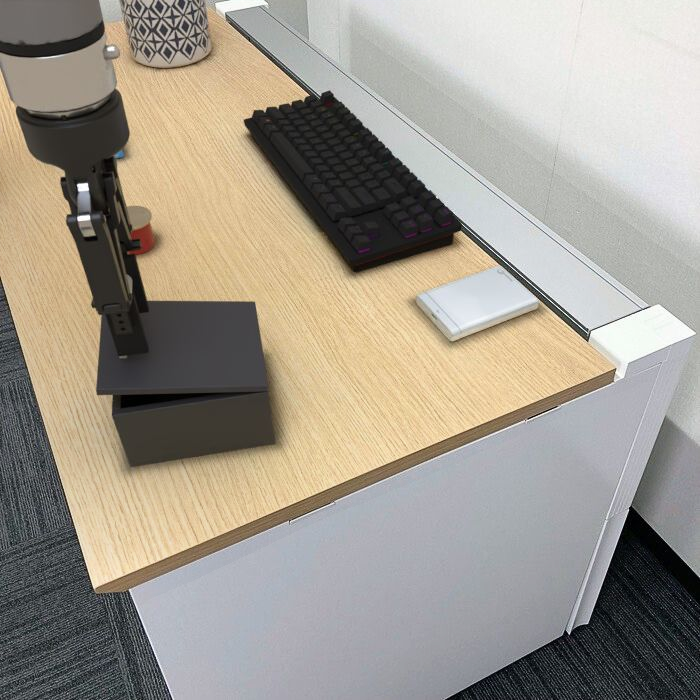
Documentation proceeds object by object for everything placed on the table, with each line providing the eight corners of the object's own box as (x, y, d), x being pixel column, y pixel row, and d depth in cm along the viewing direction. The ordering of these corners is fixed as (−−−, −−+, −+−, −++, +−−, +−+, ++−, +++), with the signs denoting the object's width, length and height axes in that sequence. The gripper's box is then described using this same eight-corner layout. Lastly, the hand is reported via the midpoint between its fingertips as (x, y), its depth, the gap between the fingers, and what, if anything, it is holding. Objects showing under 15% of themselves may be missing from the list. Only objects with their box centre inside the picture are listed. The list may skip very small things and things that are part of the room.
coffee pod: (117, 258, 98) (108, 230, 95) (118, 235, 102) (110, 208, 99) (158, 253, 99) (151, 225, 96) (157, 231, 103) (151, 203, 100)
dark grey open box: (130, 467, 73) (111, 415, 68) (132, 377, 82) (115, 326, 77) (275, 443, 75) (268, 392, 70) (262, 359, 84) (255, 307, 79)
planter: (122, 69, 142) (104, -10, 132) (142, 37, 153) (127, -38, 143) (204, 69, 141) (192, -10, 131) (218, 37, 153) (207, -38, 143)
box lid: (96, 395, 66) (91, 336, 61) (103, 306, 75) (98, 248, 70) (267, 391, 70) (275, 335, 65) (254, 306, 79) (260, 252, 74)
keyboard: (244, 134, 122) (241, 106, 119) (334, 114, 127) (333, 86, 124) (351, 278, 95) (350, 246, 91) (460, 245, 99) (464, 213, 96)
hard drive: (499, 263, 94) (416, 292, 90) (539, 300, 88) (452, 332, 84) (498, 273, 95) (415, 303, 91) (537, 310, 90) (451, 343, 85)
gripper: (115, 151, 48) (176, 394, 64) (123, 43, 60) (172, 268, 77) (-6, 163, 47) (87, 407, 63) (28, 50, 59) (98, 277, 76)
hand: (134, 330), depth 70 cm, fingers closed on box lid, 5 cm apart
